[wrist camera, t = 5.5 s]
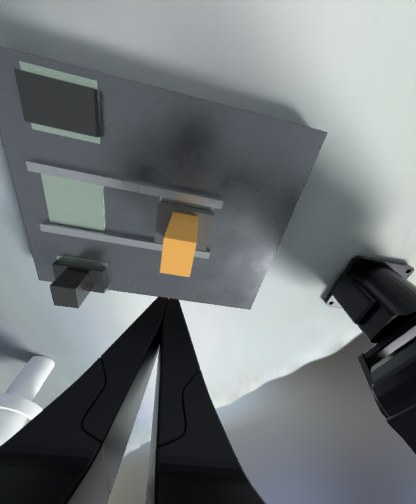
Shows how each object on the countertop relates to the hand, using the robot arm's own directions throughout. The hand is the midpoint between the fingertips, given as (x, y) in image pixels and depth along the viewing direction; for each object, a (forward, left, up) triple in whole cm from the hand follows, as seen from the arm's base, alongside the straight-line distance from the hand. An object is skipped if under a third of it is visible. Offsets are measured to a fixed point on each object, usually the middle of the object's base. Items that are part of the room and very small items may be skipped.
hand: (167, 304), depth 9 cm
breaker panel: (+2, 0, -11) cm, 11 cm away
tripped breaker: (0, 0, -8) cm, 8 cm away
